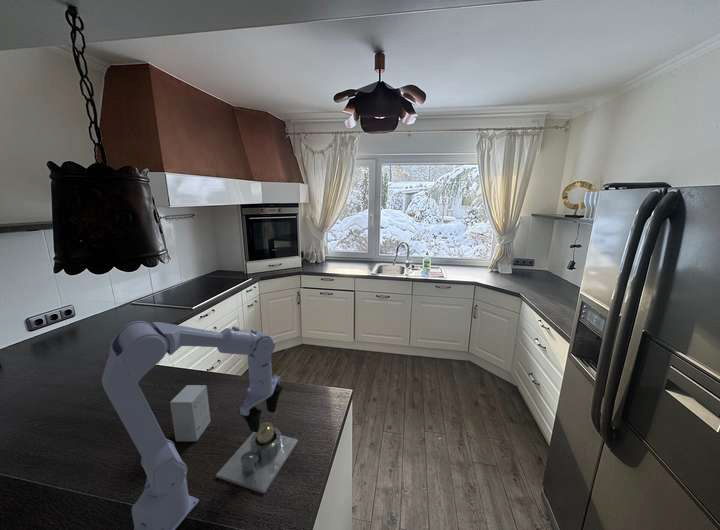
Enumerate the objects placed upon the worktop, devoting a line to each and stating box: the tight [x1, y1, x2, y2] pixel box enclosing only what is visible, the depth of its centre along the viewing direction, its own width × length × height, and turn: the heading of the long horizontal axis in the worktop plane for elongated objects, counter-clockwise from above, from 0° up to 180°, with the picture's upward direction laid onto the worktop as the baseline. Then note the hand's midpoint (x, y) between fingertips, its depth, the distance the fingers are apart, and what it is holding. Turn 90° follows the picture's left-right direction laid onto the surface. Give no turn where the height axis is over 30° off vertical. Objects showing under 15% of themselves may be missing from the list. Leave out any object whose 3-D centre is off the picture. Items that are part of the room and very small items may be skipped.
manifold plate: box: [215, 426, 299, 494], centre depth 77 cm, size 16×14×5 cm
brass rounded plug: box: [256, 421, 274, 446], centre depth 79 cm, size 4×4×6 cm
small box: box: [169, 384, 212, 442], centre depth 85 cm, size 8×6×13 cm
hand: (263, 420), depth 78 cm, fingers open, 7 cm apart
